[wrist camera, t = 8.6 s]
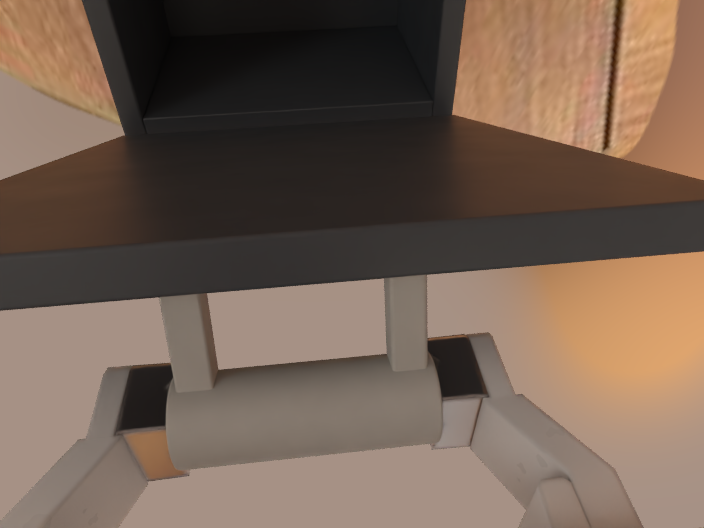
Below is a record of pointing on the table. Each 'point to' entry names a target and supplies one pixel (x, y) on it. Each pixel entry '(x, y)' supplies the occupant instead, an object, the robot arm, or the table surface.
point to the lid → (319, 254)
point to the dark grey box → (275, 61)
